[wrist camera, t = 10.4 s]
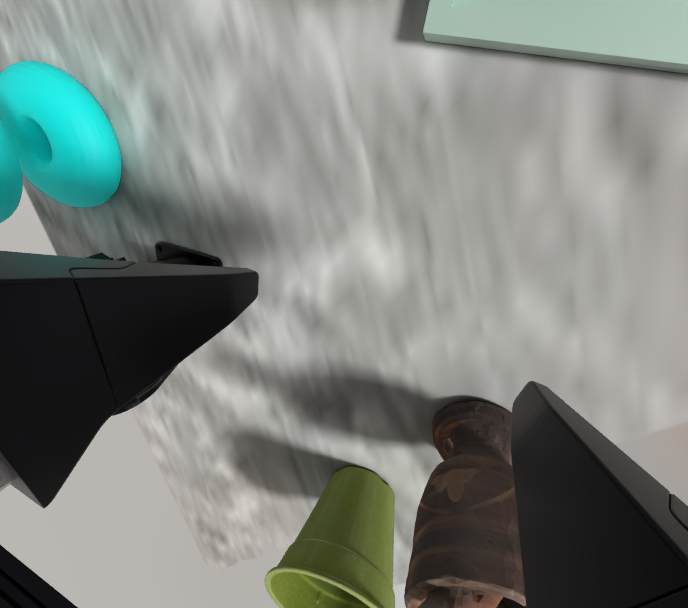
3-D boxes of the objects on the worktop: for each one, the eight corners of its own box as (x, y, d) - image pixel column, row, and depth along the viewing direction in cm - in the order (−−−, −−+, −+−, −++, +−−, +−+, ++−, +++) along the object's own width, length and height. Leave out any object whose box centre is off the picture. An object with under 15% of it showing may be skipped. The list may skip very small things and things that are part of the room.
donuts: (-222, 44, 16) (-126, 2, 13) (7, 76, 25) (97, 54, 22) (-90, 232, 21) (4, 232, 18) (66, 205, 29) (148, 202, 26)
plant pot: (389, 444, 31) (360, 581, 21) (431, 521, 34) (423, 668, 25) (295, 452, 36) (238, 564, 27) (340, 518, 40) (304, 639, 30)
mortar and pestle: (382, 432, 30) (292, 801, 13) (403, 365, 26) (311, 784, 9) (506, 477, 28) (585, 984, 11) (552, 412, 24) (794, 1077, 7)
